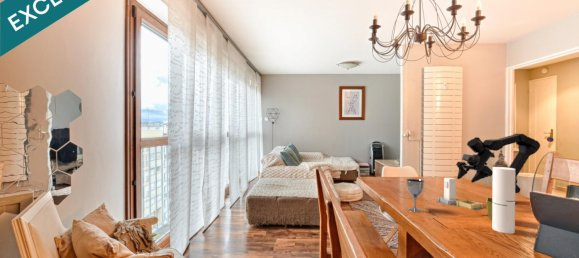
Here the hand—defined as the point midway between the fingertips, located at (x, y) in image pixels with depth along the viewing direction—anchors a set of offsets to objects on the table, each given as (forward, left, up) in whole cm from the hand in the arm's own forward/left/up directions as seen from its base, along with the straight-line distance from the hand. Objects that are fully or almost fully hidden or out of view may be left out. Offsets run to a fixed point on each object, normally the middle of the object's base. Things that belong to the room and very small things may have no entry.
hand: (464, 180), depth 145 cm
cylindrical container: (+30, +22, -13) cm, 40 cm away
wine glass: (+31, -13, -13) cm, 36 cm away
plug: (+6, -5, -12) cm, 14 cm away
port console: (+5, -1, -13) cm, 14 cm away
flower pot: (+18, +18, -13) cm, 29 cm away
